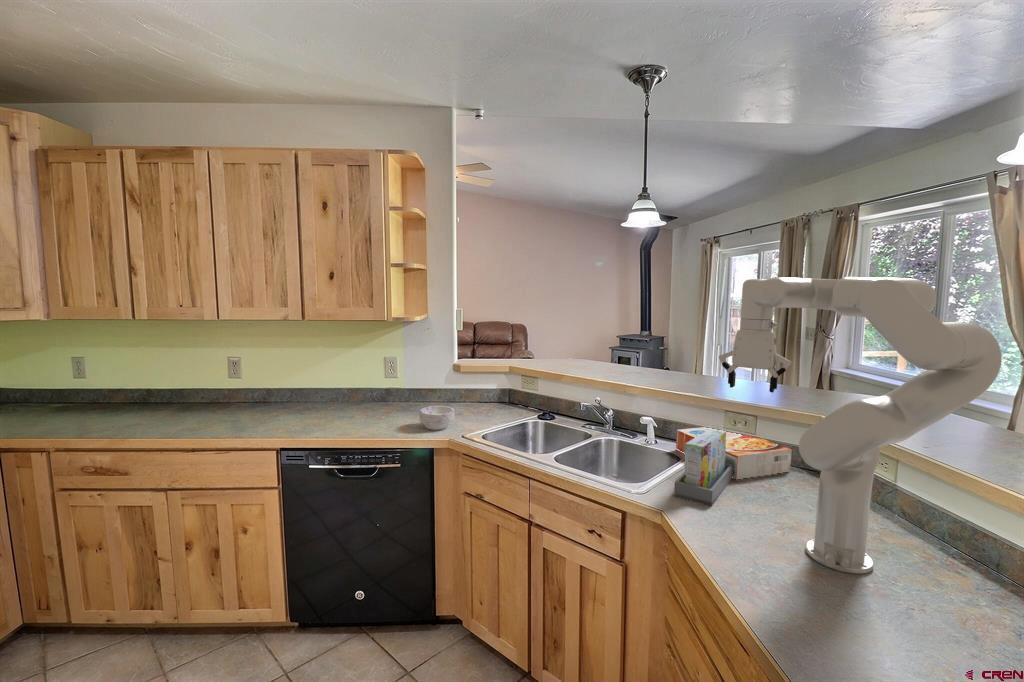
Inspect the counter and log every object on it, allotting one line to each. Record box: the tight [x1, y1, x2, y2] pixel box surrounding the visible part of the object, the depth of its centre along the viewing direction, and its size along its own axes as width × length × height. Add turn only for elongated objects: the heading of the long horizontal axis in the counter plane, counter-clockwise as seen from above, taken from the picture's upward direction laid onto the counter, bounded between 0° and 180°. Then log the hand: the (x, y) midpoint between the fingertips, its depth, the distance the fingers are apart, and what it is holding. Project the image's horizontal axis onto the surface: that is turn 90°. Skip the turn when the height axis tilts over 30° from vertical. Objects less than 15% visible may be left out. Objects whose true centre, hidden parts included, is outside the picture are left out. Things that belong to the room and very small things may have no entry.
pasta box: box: [675, 426, 793, 481], centre depth 167 cm, size 23×8×30 cm
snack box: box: [683, 428, 726, 489], centre depth 143 cm, size 21×6×15 cm, turn 138°
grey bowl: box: [419, 405, 455, 431], centre depth 204 cm, size 15×15×8 cm
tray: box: [673, 463, 733, 507], centre depth 144 cm, size 26×11×4 cm, turn 143°
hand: (751, 389), depth 125 cm, fingers open, 9 cm apart
